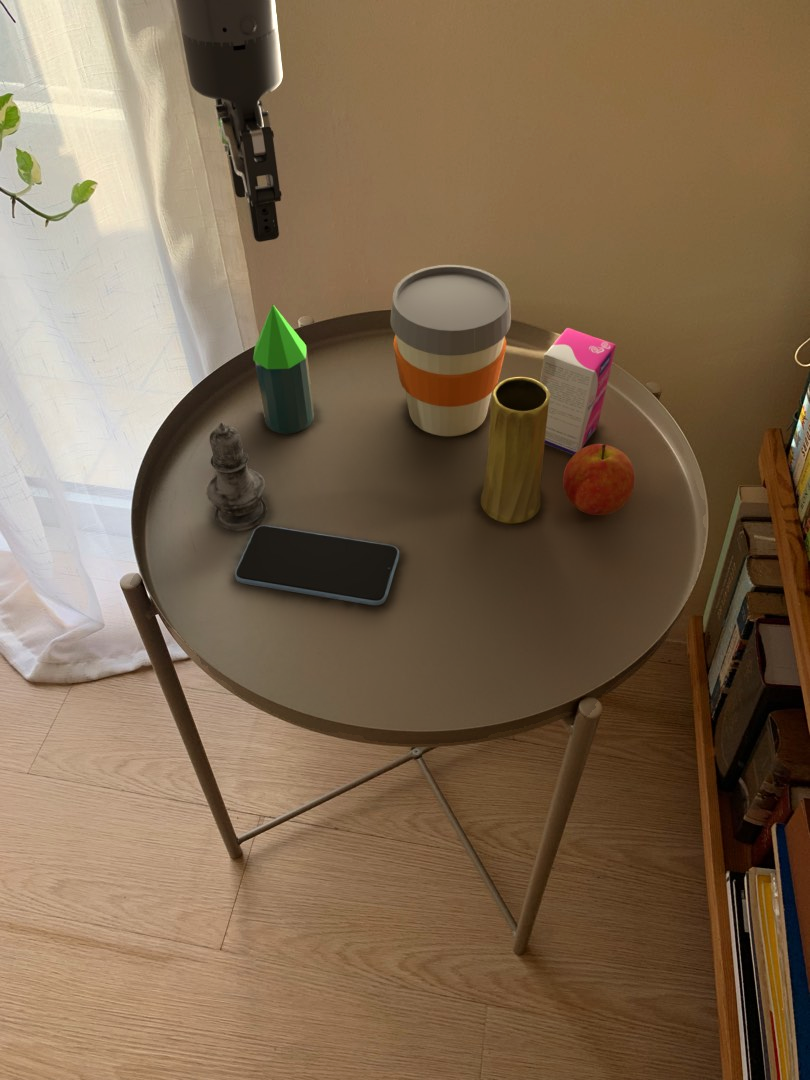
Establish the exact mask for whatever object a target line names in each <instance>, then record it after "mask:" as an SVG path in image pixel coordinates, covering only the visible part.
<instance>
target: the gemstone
mask: <svg viewBox="0 0 810 1080" xmlns="http://www.w3.org/2000/svg"><path fill="white" fill-rule="evenodd" d="M270 307H271V308H270V310H269V312H268V315H267V316H266V319H265V322H264V324H263V326H262V328H261V331H260V334H259V335H258V338H257V341H256V344H255V345H254V350H253V354H254V356H253V355H252V361H253V362H254V361H255V362H257V363H258V364H260V365H261V366H263V367H264V368H266V369H289V368H291V367H293V366H294V365H296V364H298V363H299V362H301V361H302V360H304V359H305V358H306V350H307V344H305V342H304V341H303V340H302V338H301V337H300V336H299V335H298V333H297V332H296V331H295V330H294V329H293V327H292V326H291V325H290V323H289V322H288V321H287V320H286V319H285V317H284V316H283V315H282V314H281V313H280V311H279V310H278V309H277V308H276V306H275V305H274V304H272V305H271V306H270Z"/></svg>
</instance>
